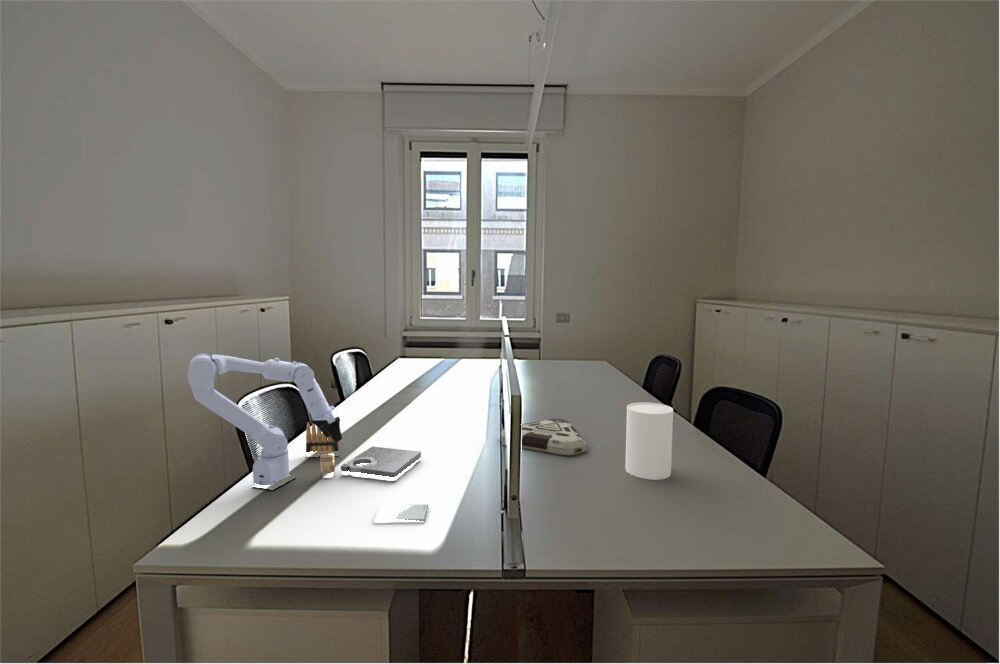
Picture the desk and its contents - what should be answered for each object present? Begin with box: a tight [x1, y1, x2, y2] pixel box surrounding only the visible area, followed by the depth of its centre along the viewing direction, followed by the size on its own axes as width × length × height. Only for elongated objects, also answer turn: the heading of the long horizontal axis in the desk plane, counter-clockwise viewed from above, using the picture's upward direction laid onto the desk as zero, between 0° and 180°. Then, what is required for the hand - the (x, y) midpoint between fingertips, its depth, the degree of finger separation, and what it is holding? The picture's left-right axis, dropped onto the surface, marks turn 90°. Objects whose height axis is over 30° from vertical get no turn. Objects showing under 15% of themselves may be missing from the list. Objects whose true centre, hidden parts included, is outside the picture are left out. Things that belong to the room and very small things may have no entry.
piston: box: [319, 451, 336, 474], centre depth 147 cm, size 4×4×7 cm
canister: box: [624, 401, 674, 481], centre depth 150 cm, size 14×14×20 cm
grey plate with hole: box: [340, 446, 422, 477], centre depth 154 cm, size 18×18×3 cm
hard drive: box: [396, 503, 429, 522], centre depth 123 cm, size 2×8×12 cm
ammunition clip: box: [305, 421, 340, 453], centre depth 163 cm, size 11×2×12 cm, turn 95°
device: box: [500, 418, 587, 457], centre depth 181 cm, size 33×27×5 cm
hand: (334, 438), depth 150 cm, fingers open, 7 cm apart
